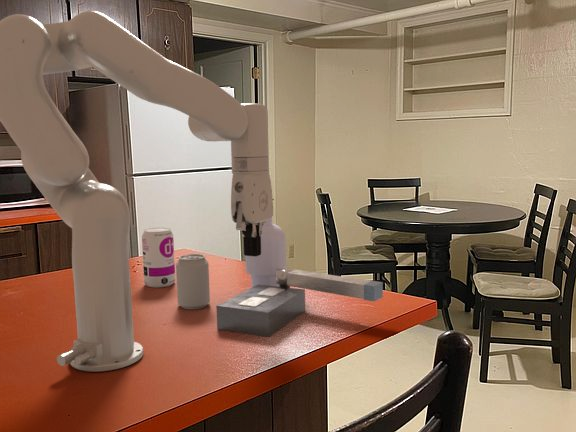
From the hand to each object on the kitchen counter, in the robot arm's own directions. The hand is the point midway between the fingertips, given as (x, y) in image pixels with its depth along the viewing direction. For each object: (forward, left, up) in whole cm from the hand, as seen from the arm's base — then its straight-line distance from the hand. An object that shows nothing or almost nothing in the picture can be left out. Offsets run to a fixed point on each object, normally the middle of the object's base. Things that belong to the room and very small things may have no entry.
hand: (252, 255), depth 116 cm
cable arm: (+13, -11, -10) cm, 19 cm away
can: (+7, +20, -15) cm, 26 cm away
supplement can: (+20, +40, -15) cm, 47 cm away
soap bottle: (+23, +9, -15) cm, 29 cm away
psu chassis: (+6, 0, -15) cm, 16 cm away
